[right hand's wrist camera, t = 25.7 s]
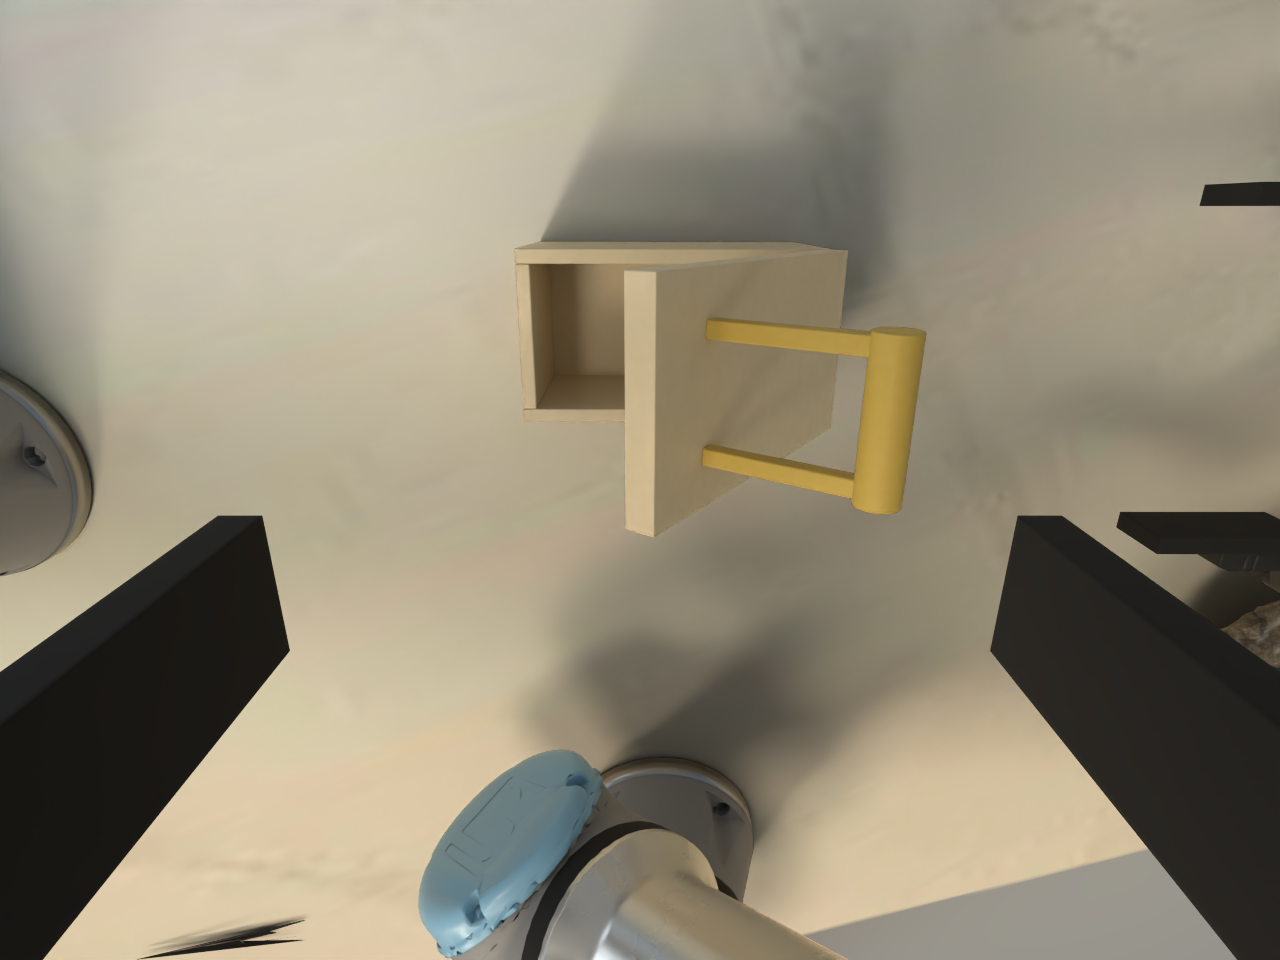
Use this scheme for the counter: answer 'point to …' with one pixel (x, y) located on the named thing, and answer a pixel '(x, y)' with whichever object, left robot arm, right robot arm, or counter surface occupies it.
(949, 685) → the counter surface
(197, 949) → the feather
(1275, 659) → the fossil
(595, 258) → the chest
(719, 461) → the lid
